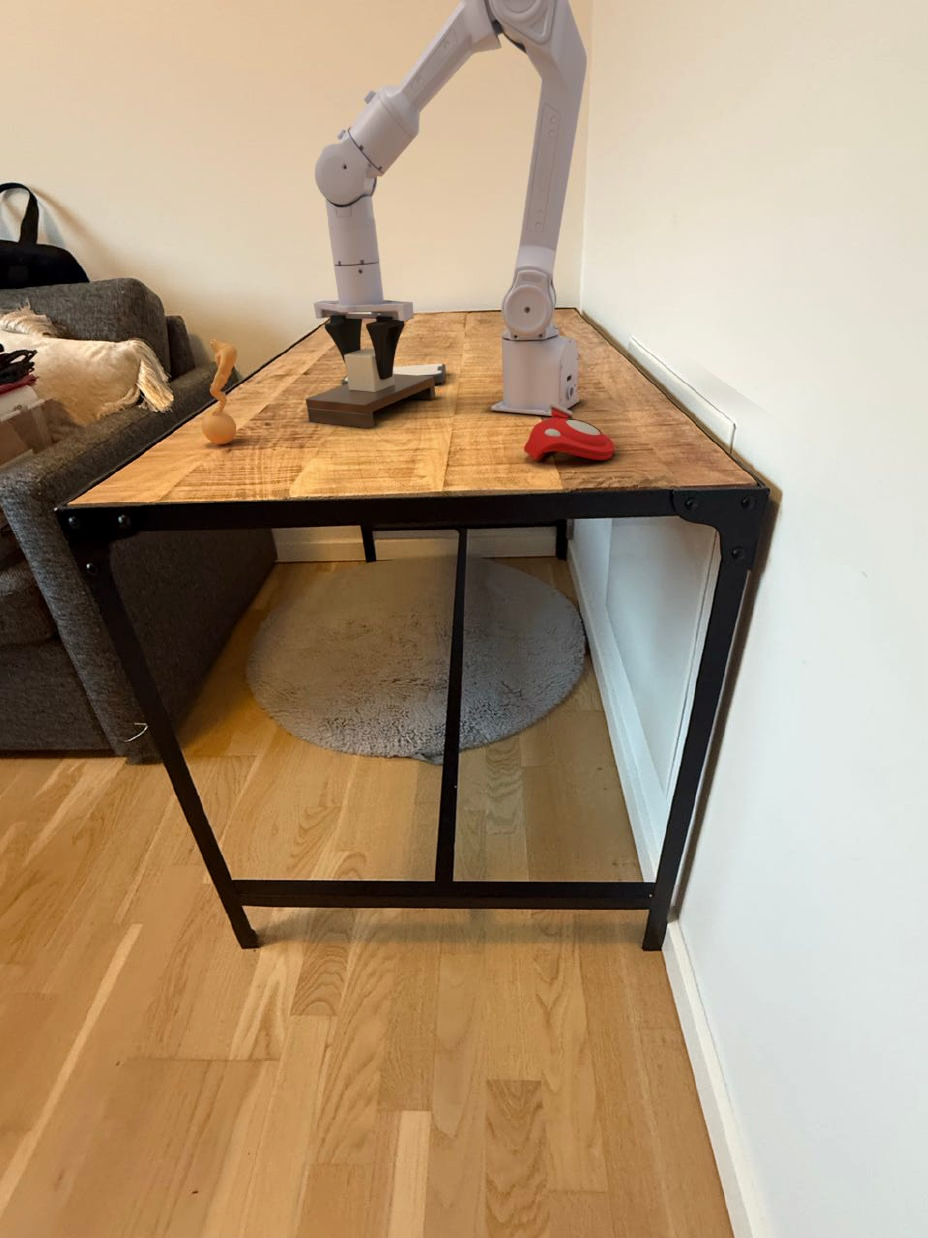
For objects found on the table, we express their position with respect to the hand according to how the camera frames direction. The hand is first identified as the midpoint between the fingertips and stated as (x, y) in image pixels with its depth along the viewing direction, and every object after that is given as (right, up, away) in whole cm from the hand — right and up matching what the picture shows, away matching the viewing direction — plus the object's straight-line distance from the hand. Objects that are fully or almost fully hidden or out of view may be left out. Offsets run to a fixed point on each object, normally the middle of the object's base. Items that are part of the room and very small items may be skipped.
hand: (370, 376), depth 91 cm
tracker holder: (+24, -14, -17) cm, 33 cm away
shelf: (0, -4, +2) cm, 4 cm away
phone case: (+2, +5, +16) cm, 17 cm away
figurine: (-16, -11, -8) cm, 21 cm away
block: (0, -1, +1) cm, 1 cm away
